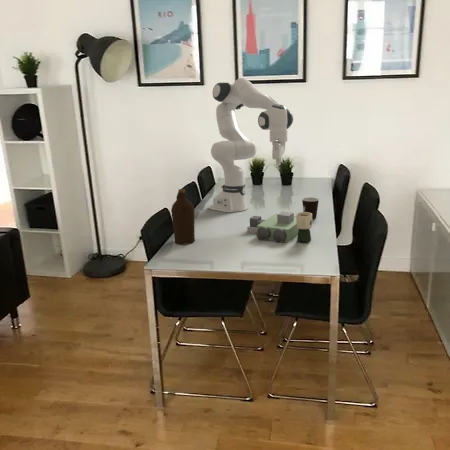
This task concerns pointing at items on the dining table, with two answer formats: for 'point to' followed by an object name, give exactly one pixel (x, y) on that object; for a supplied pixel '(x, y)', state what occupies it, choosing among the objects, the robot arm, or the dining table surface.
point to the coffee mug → (310, 205)
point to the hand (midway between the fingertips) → (278, 165)
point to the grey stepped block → (255, 221)
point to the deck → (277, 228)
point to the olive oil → (183, 219)
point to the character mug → (304, 226)
